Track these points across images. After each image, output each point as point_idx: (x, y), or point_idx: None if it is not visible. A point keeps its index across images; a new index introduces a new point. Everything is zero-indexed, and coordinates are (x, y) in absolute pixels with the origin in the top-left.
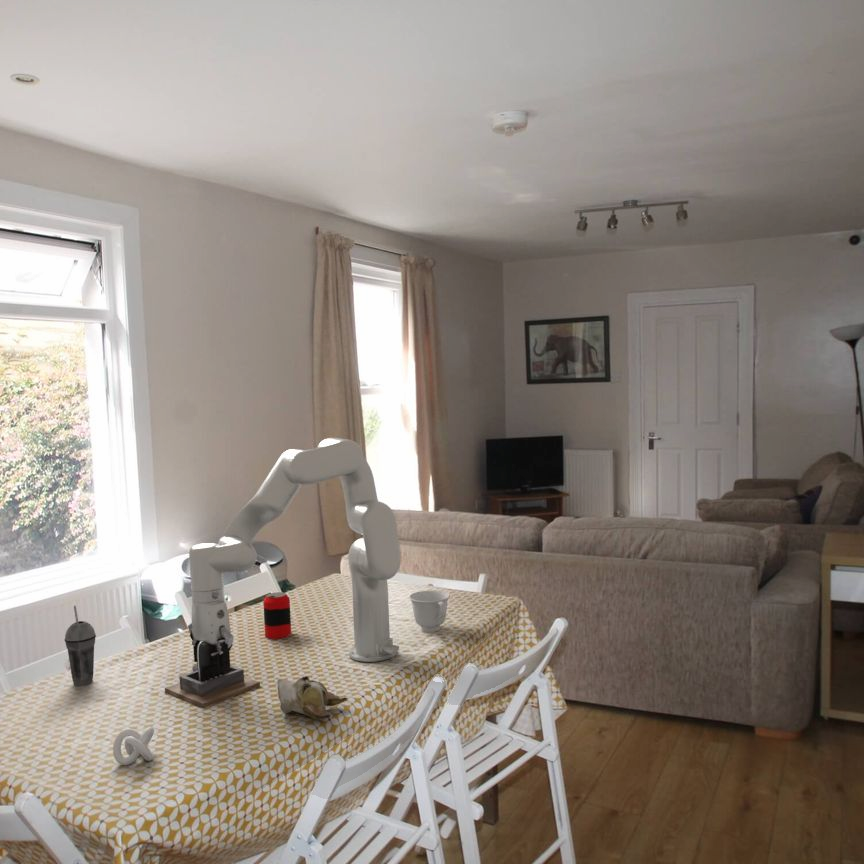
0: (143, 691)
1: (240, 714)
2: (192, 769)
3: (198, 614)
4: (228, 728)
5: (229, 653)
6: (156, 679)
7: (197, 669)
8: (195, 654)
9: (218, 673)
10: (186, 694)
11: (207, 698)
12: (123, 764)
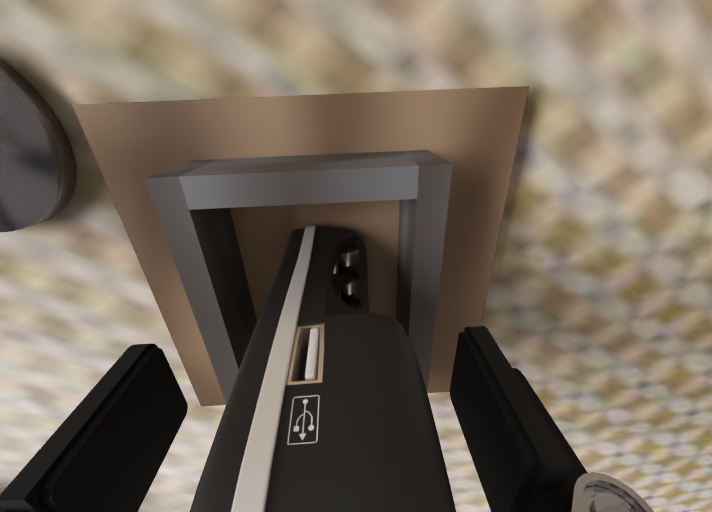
0: None
1: (635, 332)
2: (689, 497)
3: None
4: (656, 395)
5: (550, 429)
6: (25, 361)
7: (10, 221)
8: (152, 471)
9: (335, 292)
10: None
11: (443, 364)
12: None
